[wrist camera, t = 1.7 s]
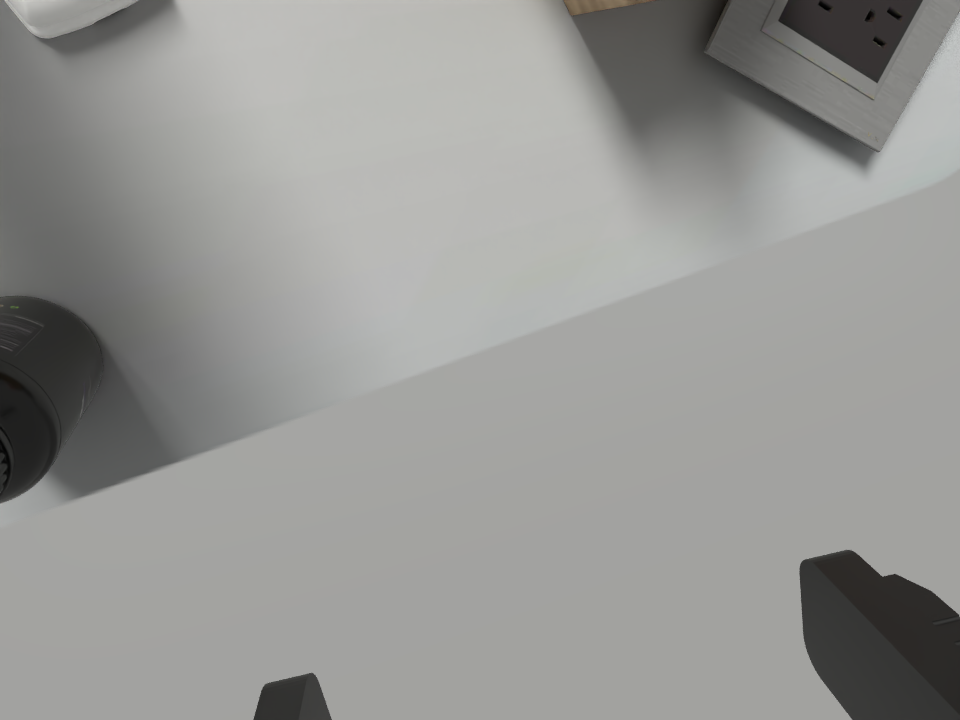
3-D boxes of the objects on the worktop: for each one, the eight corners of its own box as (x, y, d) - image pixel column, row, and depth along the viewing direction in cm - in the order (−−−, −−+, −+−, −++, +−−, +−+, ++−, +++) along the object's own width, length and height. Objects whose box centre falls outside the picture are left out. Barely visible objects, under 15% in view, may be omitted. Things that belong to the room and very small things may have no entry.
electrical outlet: (685, 52, 37) (710, 51, 35) (785, -160, 34) (818, -175, 32) (853, 147, 42) (883, 152, 40) (953, -32, 39) (991, -37, 37)
